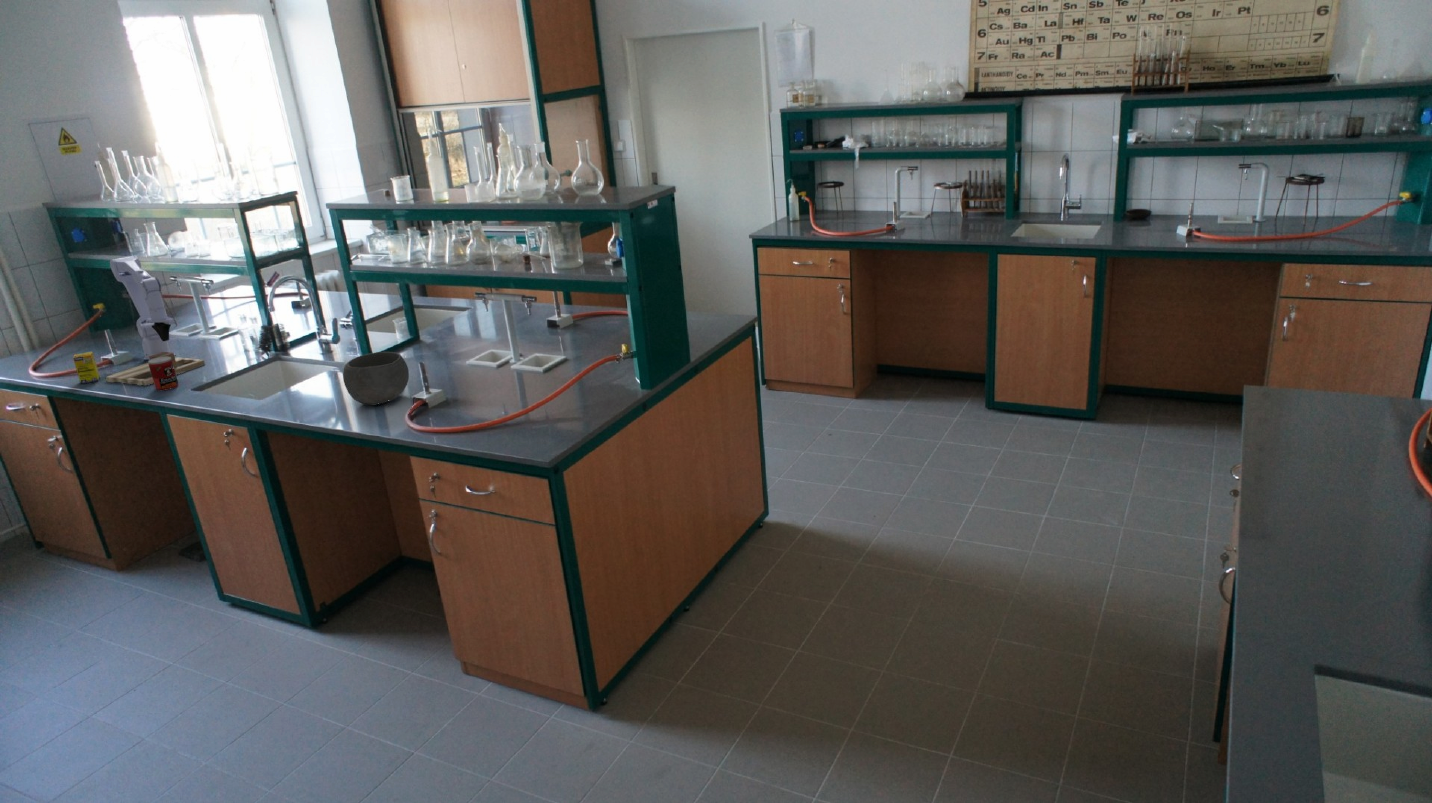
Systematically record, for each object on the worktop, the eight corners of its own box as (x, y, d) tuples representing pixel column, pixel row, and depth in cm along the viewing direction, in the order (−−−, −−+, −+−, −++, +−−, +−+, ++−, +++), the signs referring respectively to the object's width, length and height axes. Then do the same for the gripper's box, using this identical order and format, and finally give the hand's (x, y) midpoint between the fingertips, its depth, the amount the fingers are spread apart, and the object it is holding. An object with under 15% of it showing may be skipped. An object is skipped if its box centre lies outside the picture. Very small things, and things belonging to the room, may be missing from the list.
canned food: (163, 392, 343) (154, 363, 339) (151, 389, 347) (143, 361, 343) (183, 385, 349) (175, 357, 345) (171, 382, 353) (163, 355, 349)
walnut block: (153, 371, 362) (148, 356, 359) (166, 366, 367) (162, 351, 365) (163, 372, 359) (159, 357, 357) (177, 367, 364) (173, 352, 362)
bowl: (378, 388, 332) (370, 348, 327) (425, 392, 324) (418, 351, 319) (335, 408, 314) (326, 366, 308) (384, 414, 306) (375, 371, 301)
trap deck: (107, 381, 359) (105, 376, 358) (166, 360, 381) (165, 356, 380) (146, 386, 350) (145, 381, 350) (205, 364, 373) (203, 359, 372)
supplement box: (81, 384, 357) (72, 357, 353) (82, 380, 362) (74, 354, 358) (99, 381, 360) (90, 354, 356) (100, 377, 365) (92, 351, 361)
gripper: (135, 310, 370) (144, 342, 375) (159, 311, 364) (168, 344, 369) (151, 305, 376) (160, 337, 381) (175, 306, 370) (184, 339, 375)
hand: (165, 340), depth 375 cm, fingers closed
